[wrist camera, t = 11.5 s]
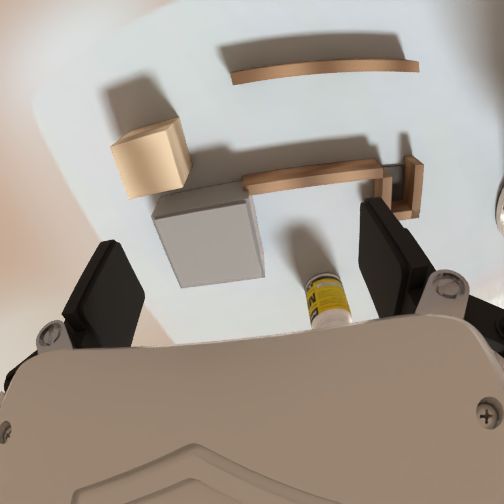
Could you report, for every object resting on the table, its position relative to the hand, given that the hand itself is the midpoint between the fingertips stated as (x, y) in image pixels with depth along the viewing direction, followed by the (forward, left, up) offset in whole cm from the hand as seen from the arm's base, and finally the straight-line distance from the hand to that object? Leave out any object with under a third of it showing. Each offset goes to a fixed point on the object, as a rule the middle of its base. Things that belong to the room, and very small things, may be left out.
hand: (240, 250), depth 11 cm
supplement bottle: (-6, +21, -19) cm, 28 cm away
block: (+8, 0, -18) cm, 20 cm away
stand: (+5, +10, -18) cm, 21 cm away
